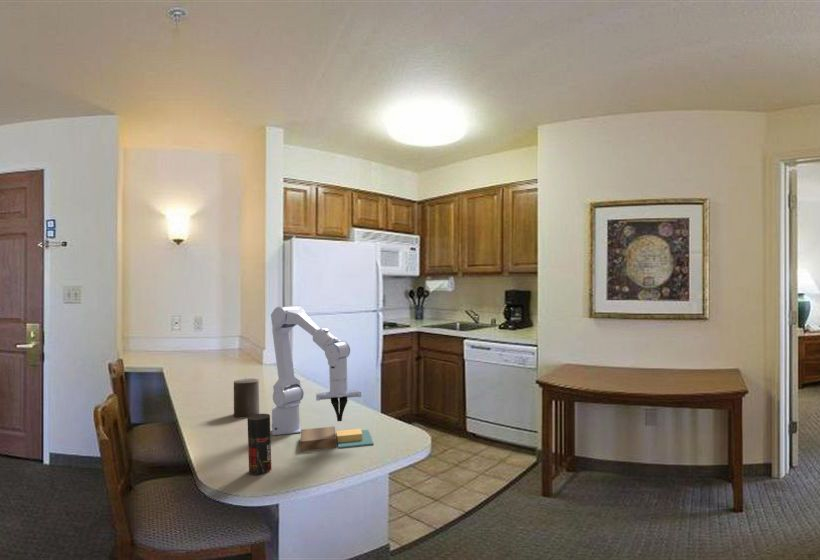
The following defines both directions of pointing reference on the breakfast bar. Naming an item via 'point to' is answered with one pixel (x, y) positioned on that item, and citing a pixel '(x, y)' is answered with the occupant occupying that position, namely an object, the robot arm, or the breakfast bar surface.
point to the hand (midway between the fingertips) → (339, 420)
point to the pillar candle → (246, 397)
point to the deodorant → (259, 444)
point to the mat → (366, 441)
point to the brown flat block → (318, 438)
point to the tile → (349, 435)
